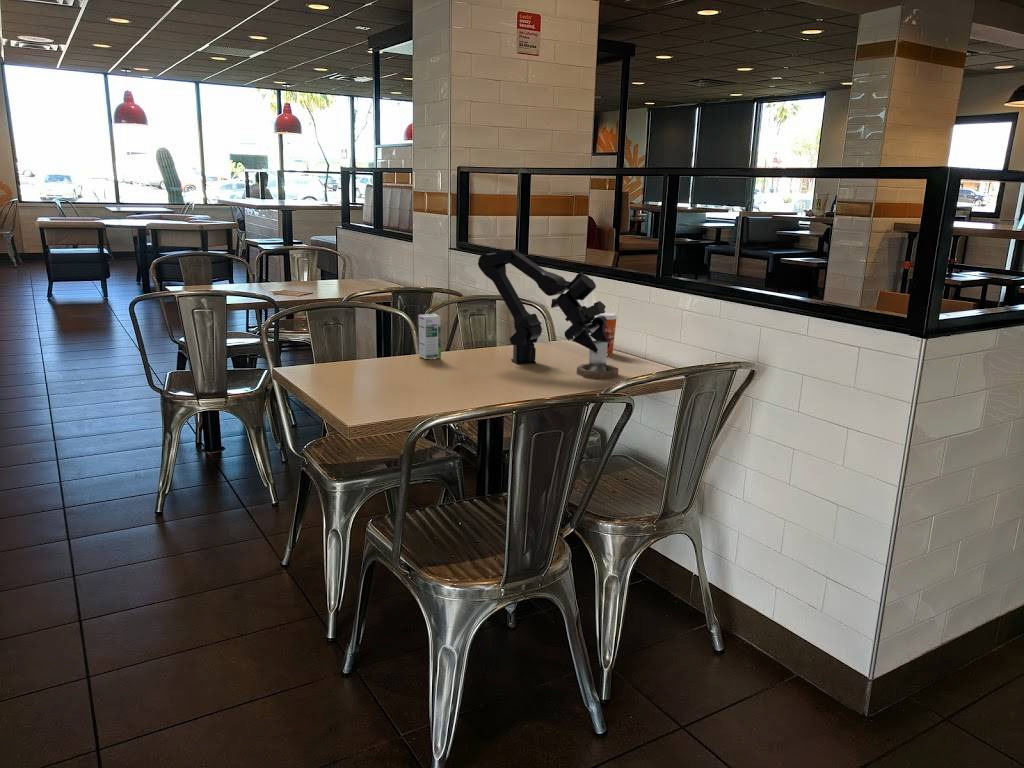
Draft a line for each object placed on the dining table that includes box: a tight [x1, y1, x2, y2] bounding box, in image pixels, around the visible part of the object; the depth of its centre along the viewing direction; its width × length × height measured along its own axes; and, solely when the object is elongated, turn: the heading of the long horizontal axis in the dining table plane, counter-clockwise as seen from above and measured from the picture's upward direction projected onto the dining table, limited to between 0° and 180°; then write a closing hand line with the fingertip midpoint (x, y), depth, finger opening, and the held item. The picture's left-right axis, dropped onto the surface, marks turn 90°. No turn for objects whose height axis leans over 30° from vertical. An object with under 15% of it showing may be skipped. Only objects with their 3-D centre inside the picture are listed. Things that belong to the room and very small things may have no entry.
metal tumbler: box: [588, 340, 608, 372], centre depth 236 cm, size 6×6×10 cm
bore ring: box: [576, 363, 619, 380], centre depth 237 cm, size 12×12×2 cm
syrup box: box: [418, 313, 442, 360], centre depth 253 cm, size 6×6×14 cm
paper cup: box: [595, 312, 618, 355], centre depth 267 cm, size 8×8×14 cm
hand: (602, 349), depth 235 cm, fingers open, 8 cm apart
